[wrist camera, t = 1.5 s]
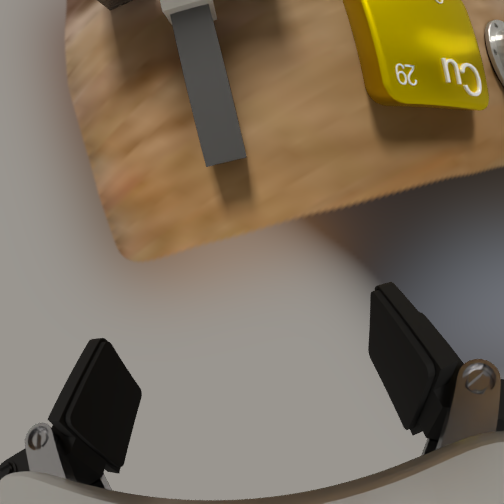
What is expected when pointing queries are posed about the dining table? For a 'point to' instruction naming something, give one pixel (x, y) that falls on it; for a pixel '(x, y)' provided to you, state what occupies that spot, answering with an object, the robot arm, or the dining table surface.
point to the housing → (113, 3)
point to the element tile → (418, 53)
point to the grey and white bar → (206, 79)
